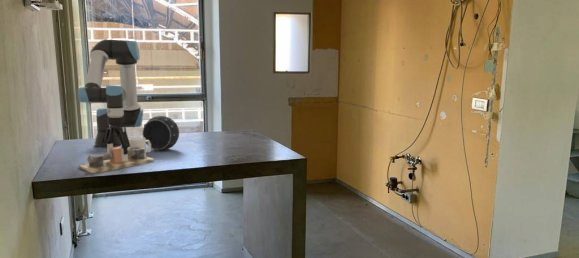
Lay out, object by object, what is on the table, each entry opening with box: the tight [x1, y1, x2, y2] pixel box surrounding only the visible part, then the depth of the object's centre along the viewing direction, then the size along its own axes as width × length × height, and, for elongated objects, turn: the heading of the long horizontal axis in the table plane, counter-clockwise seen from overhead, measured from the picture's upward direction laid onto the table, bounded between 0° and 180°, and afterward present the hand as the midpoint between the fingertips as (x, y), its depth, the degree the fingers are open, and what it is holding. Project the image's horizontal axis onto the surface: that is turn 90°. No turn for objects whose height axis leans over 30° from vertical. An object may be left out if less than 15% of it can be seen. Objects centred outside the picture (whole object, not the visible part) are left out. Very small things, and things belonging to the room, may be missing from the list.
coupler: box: [110, 146, 125, 163], centre depth 216 cm, size 4×6×7 cm
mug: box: [127, 136, 152, 157], centre depth 235 cm, size 14×10×11 cm
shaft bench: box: [78, 148, 155, 174], centre depth 217 cm, size 32×14×6 cm, turn 141°
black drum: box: [142, 115, 180, 152], centre depth 251 cm, size 11×20×20 cm, turn 78°
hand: (117, 158), depth 217 cm, fingers open, 13 cm apart
